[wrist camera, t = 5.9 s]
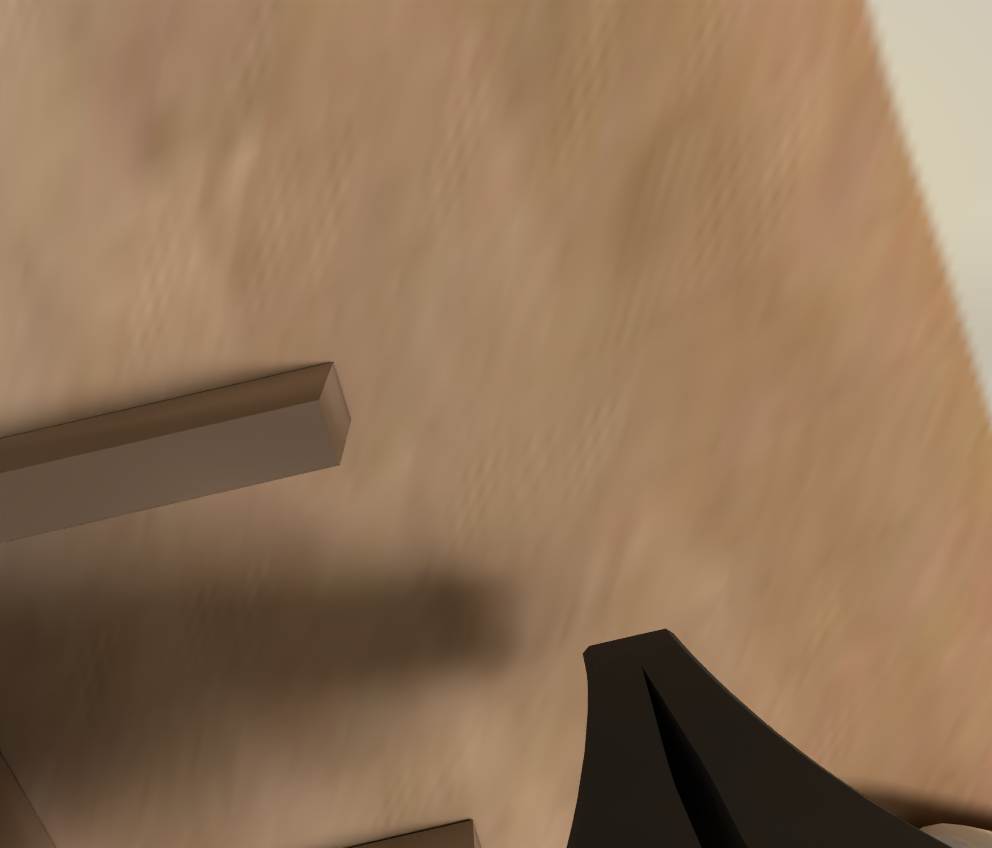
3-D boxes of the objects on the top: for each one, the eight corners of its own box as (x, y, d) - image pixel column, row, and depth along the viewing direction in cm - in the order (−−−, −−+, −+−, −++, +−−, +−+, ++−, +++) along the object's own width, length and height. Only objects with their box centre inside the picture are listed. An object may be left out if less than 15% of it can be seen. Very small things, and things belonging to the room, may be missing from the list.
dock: (483, 854, 16) (506, 1143, 12) (63, 951, 16) (-80, 1278, 12) (333, 361, 12) (278, 508, 8) (-225, 490, 12) (-612, 712, 8)
